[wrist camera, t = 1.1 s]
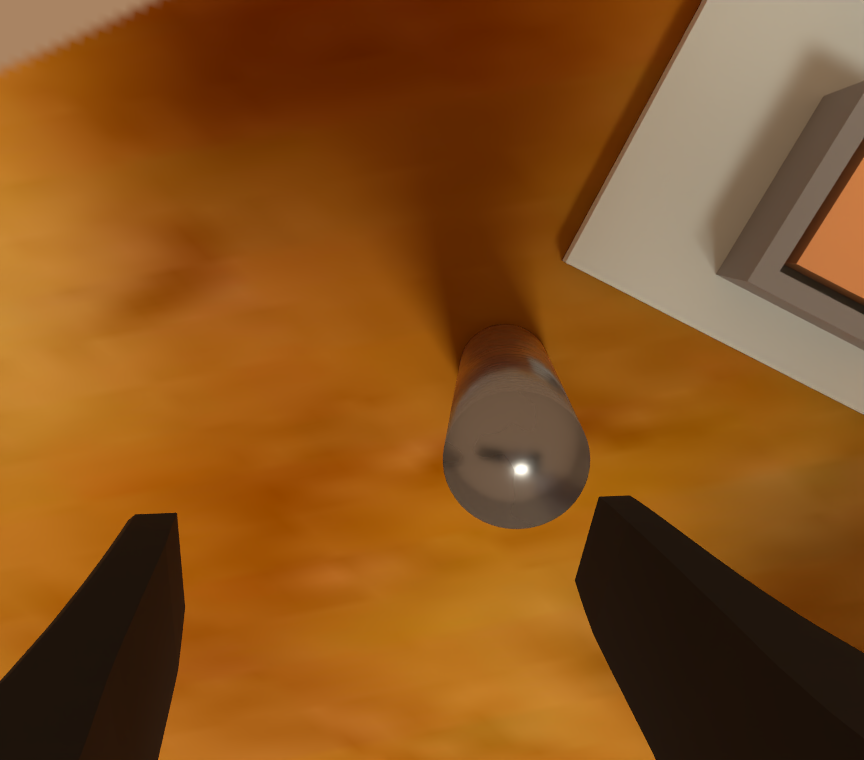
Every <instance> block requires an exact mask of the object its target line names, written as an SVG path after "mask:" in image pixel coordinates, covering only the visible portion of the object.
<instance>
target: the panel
mask: <svg viewBox="0 0 864 760" xmlns="http://www.w3.org/2000/svg"><path fill="white" fill-rule="evenodd" d="M863 139H864V0H702V2H701V4H700V6H699V7H698V9H697V11H696V13H695V15H694V17H693V19H692V20H691V22H690V24H689V26H688V28H687V30H686V32H685V33H684V35H683V37H682V39H681V41H680V43H679V45H678V46H677V48H676V50H675V52H674V54H673V56H672V58H671V59H670V61H669V63H668V65H667V67H666V69H665V71H664V72H663V74H662V76H661V78H660V80H659V82H658V84H657V85H656V87H655V89H654V91H653V93H652V95H651V97H650V98H649V100H648V102H647V104H646V106H645V108H644V110H643V111H642V113H641V115H640V117H639V119H638V121H637V123H636V124H635V126H634V128H633V130H632V132H631V134H630V136H629V137H628V139H627V141H626V143H625V145H624V147H623V149H622V150H621V152H620V154H619V156H618V158H617V160H616V162H615V163H614V165H613V167H612V169H611V171H610V173H609V175H608V176H607V178H606V180H605V182H604V184H603V186H602V188H601V189H600V191H599V193H598V195H597V197H596V199H595V201H594V202H593V204H592V206H591V208H590V210H589V212H588V214H587V215H586V217H585V219H584V221H583V223H582V225H581V227H580V228H579V230H578V232H577V234H576V236H575V238H574V240H573V241H572V243H571V245H570V247H569V249H568V251H567V253H566V254H565V256H564V258H563V260H562V261H564V262H566V263H567V264H569V265H571V266H573V267H575V268H577V269H579V270H581V271H583V272H585V273H587V274H589V275H591V276H593V277H595V278H597V279H599V280H601V281H603V282H605V283H607V284H609V285H611V286H613V287H614V288H616V289H618V290H620V291H622V292H624V293H626V294H628V295H630V296H632V297H634V298H636V299H638V300H640V301H642V302H644V303H646V304H648V305H650V306H652V307H654V308H656V309H658V310H660V311H662V312H663V313H665V314H667V315H669V316H671V317H673V318H675V319H677V320H679V321H681V322H683V323H685V324H687V325H689V326H691V327H693V328H695V329H697V330H699V331H701V332H703V333H705V334H707V335H709V336H710V337H712V338H714V339H716V340H718V341H720V342H722V343H724V344H726V345H728V346H730V347H732V348H734V349H736V350H738V351H740V352H742V353H744V354H746V355H748V356H750V357H752V358H754V359H756V360H758V361H759V362H761V363H763V364H765V365H767V366H769V367H771V368H773V369H775V370H777V371H779V372H781V373H783V374H785V375H787V376H789V377H791V378H793V379H795V380H797V381H799V382H801V383H803V384H805V385H806V386H808V387H810V388H812V389H814V390H816V391H818V392H820V393H822V394H824V395H826V396H828V397H830V398H832V399H834V400H836V401H838V402H840V403H842V404H844V405H846V406H848V407H850V408H852V409H853V410H855V411H857V412H859V413H861V414H863V415H864V306H863V305H861V304H859V303H857V302H855V301H853V300H851V299H849V298H847V297H846V296H844V295H842V294H840V293H838V292H836V291H834V290H832V289H830V288H828V287H826V286H824V285H822V284H820V283H818V282H816V281H815V280H813V279H811V278H809V277H807V276H805V275H803V274H801V273H799V272H797V271H795V270H793V269H791V268H789V267H787V266H786V265H784V264H785V262H786V261H787V259H788V257H789V256H790V254H791V253H792V251H793V249H794V248H795V246H796V245H797V243H798V242H799V240H800V238H801V237H802V235H803V234H804V232H805V230H806V229H807V227H808V226H809V224H810V222H811V221H812V219H813V218H814V216H815V214H816V213H817V211H818V210H819V208H820V207H821V205H822V203H823V202H824V200H825V199H826V197H827V195H828V194H829V192H830V191H831V189H832V187H833V186H834V184H835V183H836V181H837V179H838V178H839V176H840V175H841V173H842V172H843V170H844V168H845V167H846V165H847V164H848V162H849V160H850V159H851V157H852V156H853V154H854V152H855V151H856V149H857V148H858V146H859V144H860V143H861V141H862V140H863Z"/></svg>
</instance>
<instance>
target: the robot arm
mask: <svg viewBox="0 0 864 760" xmlns="http://www.w3.org/2000/svg"><path fill="white" fill-rule="evenodd" d="M575 582H576V585H577V588H578V592H579V595H580V598H581V601H582V604H583V607H584V610H585V613H586V615H587V618H588V621H589V623H590V626H591V629H592V632H593V634H594V636H595V638H596V640H597V642H598V645H599V647H600V649H601V651H602V653H603V655H604V657H605V659H606V661H607V663H608V665H609V667H610V669H611V671H612V673H613V675H614V677H615V679H616V681H617V683H618V685H619V687H620V689H621V691H622V693H623V695H624V697H625V699H626V701H627V703H628V705H629V707H630V709H631V711H632V713H633V715H634V717H635V719H636V721H637V722H638V724H639V726H640V728H641V730H642V732H643V734H644V736H645V738H646V740H647V742H648V744H649V746H650V748H651V750H652V752H653V754H654V757H655V759H656V760H864V653H863V652H861V651H859V650H858V649H856V648H854V647H852V646H851V645H849V644H847V643H845V642H844V641H842V640H840V639H839V638H837V637H835V636H833V635H832V634H830V633H828V632H827V631H825V630H823V629H821V628H820V627H818V626H816V625H815V624H813V623H812V622H810V621H808V620H807V619H805V618H803V617H802V616H800V615H799V614H797V613H796V612H794V611H793V610H791V609H790V608H788V607H787V606H785V605H784V604H782V603H780V602H779V601H777V600H776V599H774V598H773V597H771V596H770V595H768V594H767V593H765V592H764V591H762V590H761V589H759V588H758V587H756V586H755V585H754V584H752V583H751V582H749V581H748V580H746V579H745V578H744V577H742V576H741V575H739V574H738V573H736V572H735V571H734V570H732V569H731V568H729V567H728V566H727V565H725V564H724V563H723V562H721V561H720V560H718V559H717V558H716V557H714V556H713V555H711V554H710V553H709V552H707V551H706V550H705V549H703V548H702V547H701V546H699V545H698V544H697V543H695V542H694V541H693V540H691V539H690V538H688V537H687V536H686V535H684V534H683V533H682V532H680V531H679V530H678V529H676V528H675V527H674V526H672V525H671V524H670V523H668V522H667V521H666V520H664V519H663V518H661V517H660V516H659V515H657V514H656V513H655V512H653V511H652V510H650V509H649V508H648V507H646V506H645V505H643V504H642V503H640V502H639V501H637V500H636V499H634V498H633V497H631V496H605V497H599V498H598V502H597V505H596V509H595V512H594V516H593V519H592V523H591V526H590V530H589V533H588V537H587V540H586V544H585V547H584V551H583V554H582V558H581V561H580V565H579V568H578V572H577V575H576V578H575ZM184 612H185V602H184V590H183V578H182V567H181V555H180V544H179V532H178V520H177V513H161V514H135V515H134V516H133V517H132V518H131V519H129V520H128V521H127V523H126V524H125V526H124V527H123V529H122V530H121V532H120V533H119V535H118V536H117V538H116V539H115V541H114V542H113V544H112V545H111V546H110V548H109V549H108V551H107V552H106V553H105V555H104V556H103V558H102V559H101V560H100V562H99V563H98V564H97V566H96V567H95V568H94V570H93V571H92V572H91V574H90V575H89V576H88V578H87V579H86V580H85V582H84V583H83V584H82V585H81V587H80V588H79V589H78V590H77V592H76V593H75V594H74V595H73V597H72V598H71V599H70V600H69V602H68V603H67V604H66V605H65V607H64V608H63V609H62V610H61V612H60V613H59V614H58V615H57V617H56V618H55V619H54V620H53V622H52V623H51V624H50V625H49V626H48V628H47V629H46V630H45V631H44V632H43V633H42V635H41V636H40V637H39V638H38V639H37V640H36V641H35V642H34V644H33V645H32V646H31V647H30V648H29V649H28V650H27V651H26V653H25V654H24V655H23V656H22V657H21V658H20V659H19V661H18V662H17V663H16V664H15V665H14V666H13V667H12V668H11V670H10V671H9V672H8V673H7V674H6V675H5V676H4V677H3V678H2V680H1V681H0V760H158V757H159V753H160V748H161V744H162V740H163V735H164V731H165V726H166V722H167V717H168V713H169V709H170V704H171V700H172V695H173V691H174V686H175V682H176V677H177V672H178V666H179V657H180V649H181V640H182V631H183V622H184Z"/></svg>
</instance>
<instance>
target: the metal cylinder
mask: <svg viewBox="0 0 864 760" xmlns="http://www.w3.org/2000/svg"><path fill="white" fill-rule="evenodd" d="M443 467H444V474H445V477H446V481H447V483H448V486H449V488H450V490H451V492H452V494H453V495H454V497H455V498H456V500H457V501H458V502H459V503H460V505H461V506H462V507H463V508H465V509H466V510H467V511H468V512H469V513H470V514H472V515H473V516H474V517H476V518H478V519H480V520H481V521H484V522H486V523H488V524H491V525H494V526H498V527H502V528H509V529H523V528H531V527H535V526H539V525H542V524H545V523H547V522H549V521H551V520H553V519H555V518H557V517H558V516H560V515H561V514H563V513H564V512H565V511H566V510H567V509H569V508H570V507H571V506H572V504H573V503H574V502H575V501H576V500H577V498H578V497H579V495H580V494H581V492H582V490H583V488H584V486H585V484H586V481H587V478H588V473H589V468H590V452H589V446H588V442H587V439H586V436H585V434H584V431H583V429H582V427H581V425H580V423H579V421H578V419H577V416H576V414H575V412H574V410H573V408H572V406H571V404H570V401H569V399H568V397H567V395H566V393H565V391H564V389H563V387H562V384H561V382H560V380H559V378H558V376H557V374H556V372H555V369H554V367H553V365H552V363H551V361H550V359H549V357H548V355H547V352H546V350H545V348H544V346H543V345H542V343H541V342H540V341H539V339H538V338H537V337H536V336H535V335H533V334H532V333H531V332H529V331H528V330H526V329H524V328H522V327H519V326H515V325H509V324H500V325H494V326H490V327H488V328H485V329H484V330H482V331H480V332H479V333H477V334H476V335H475V336H474V337H473V338H472V339H471V340H470V341H469V342H468V343H467V345H466V347H465V348H464V351H463V353H462V356H461V360H460V365H459V371H458V376H457V381H456V387H455V392H454V397H453V403H452V408H451V414H450V419H449V424H448V430H447V435H446V440H445V446H444V453H443Z"/></svg>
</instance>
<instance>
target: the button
mask: <svg viewBox="0 0 864 760" xmlns="http://www.w3.org/2000/svg"><path fill="white" fill-rule="evenodd" d="M784 265H786V266H787V267H789V268H791V269H793V270H795V271H797V272H799V273H801V274H803V275H805V276H807V277H809V278H811V279H813V280H815V281H816V282H818V283H820V284H822V285H824V286H826V287H828V288H830V289H832V290H834V291H836V292H838V293H840V294H842V295H844V296H846V297H847V298H849V299H851V300H853V301H855V302H857V303H859V304H861V305H863V306H864V139H863V140H862V141H861V143H860V144H859V146H858V148H857V149H856V151H855V152H854V154H853V156H852V157H851V159H850V160H849V162H848V164H847V165H846V167H845V168H844V170H843V172H842V173H841V175H840V176H839V178H838V179H837V181H836V183H835V184H834V186H833V187H832V189H831V191H830V192H829V194H828V195H827V197H826V199H825V200H824V202H823V203H822V205H821V207H820V208H819V210H818V211H817V213H816V214H815V216H814V218H813V219H812V221H811V222H810V224H809V226H808V227H807V229H806V230H805V232H804V234H803V235H802V237H801V238H800V240H799V242H798V243H797V245H796V246H795V248H794V249H793V251H792V253H791V254H790V256H789V257H788V259H787V261H786V262H785V264H784Z"/></svg>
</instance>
